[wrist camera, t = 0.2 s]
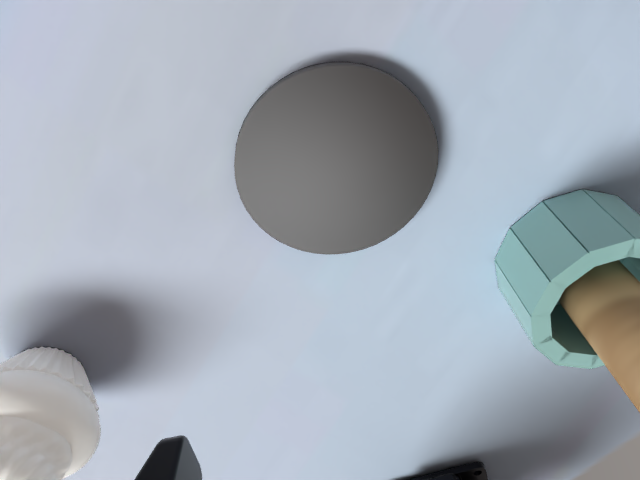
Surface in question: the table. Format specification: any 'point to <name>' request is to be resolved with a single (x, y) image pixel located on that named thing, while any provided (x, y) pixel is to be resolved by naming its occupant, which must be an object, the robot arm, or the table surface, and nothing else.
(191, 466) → the robot arm
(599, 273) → the dowel
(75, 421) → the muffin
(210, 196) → the table surface
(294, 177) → the coaster
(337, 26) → the table surface
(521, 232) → the cup
